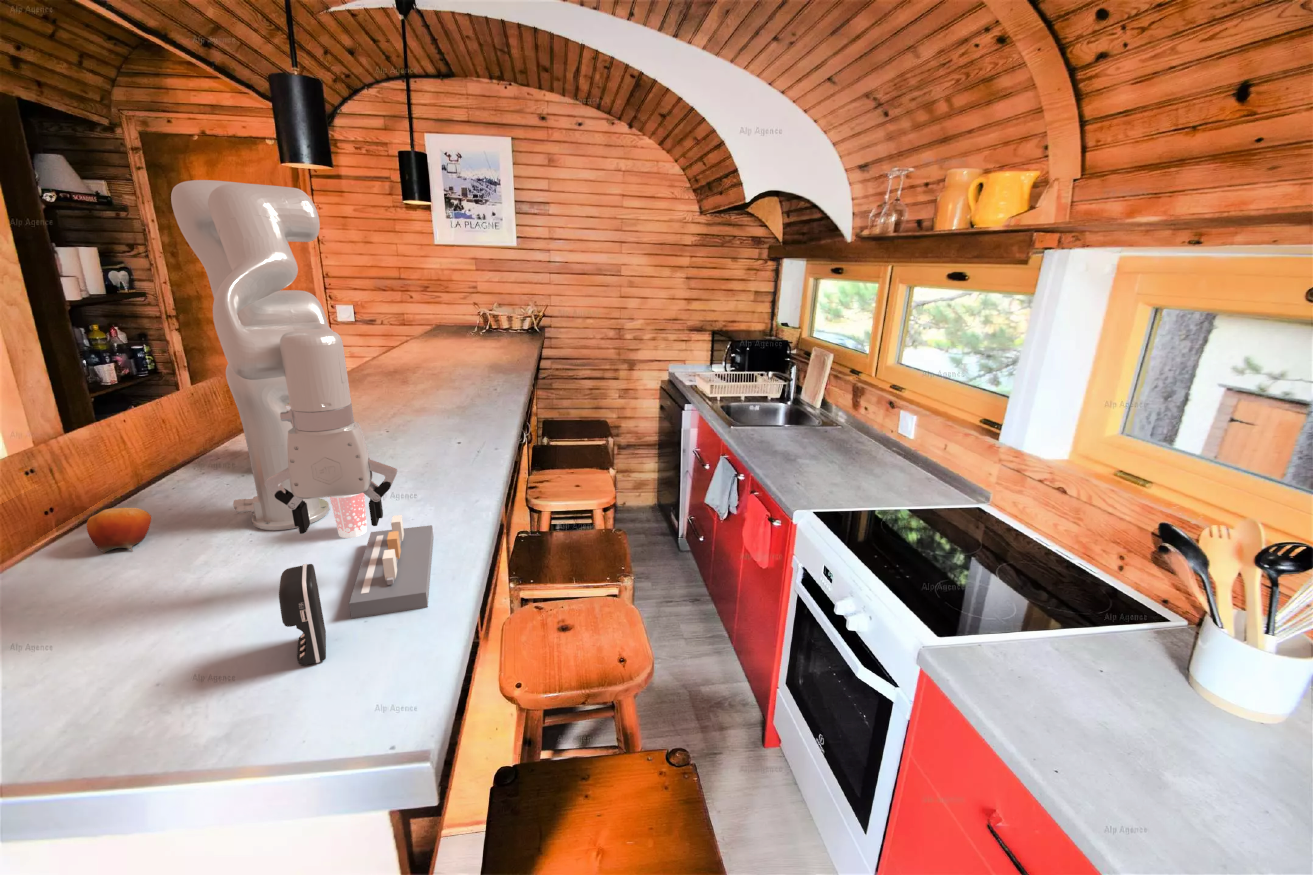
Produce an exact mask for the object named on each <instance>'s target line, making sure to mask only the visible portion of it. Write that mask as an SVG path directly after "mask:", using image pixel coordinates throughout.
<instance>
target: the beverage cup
mask: <svg viewBox="0 0 1313 875" xmlns="http://www.w3.org/2000/svg"><path fill="white" fill-rule="evenodd" d="M329 499H330V502H331V503H330V505H331V508H332V512H333V516H334V521H335V525H336V528H337V532H338V536H339V537H340V538H343V539H353V538H358V537H360V536H363V535H364V534H366V533H367V531H368V527H367V515H366V500H365V499H366V498H365V494H364V493H360V494H355V495H346V496H335V497H329Z"/></svg>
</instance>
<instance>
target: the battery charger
mask: <svg viewBox="0 0 1313 875" xmlns="http://www.w3.org/2000/svg"><path fill="white" fill-rule="evenodd" d="M317 580H318V579H317V575H316V570H315V566H314V564H312V563H304V564H302V565H298V566H293V567H289V568H286V569H285V570H283V571H282V573H281V575H280V580H279V581H280V583H279V589H278V600H279V609H280V615H281V621H282V624H284V626H285V627H287V628H288V627H296V629H298V630H299V631H301V632H302V634H301V635H300V636H299V637H298V639H297V653H296V660H297V663H298V665H300V666H306V665H307V666H308V665H312V664H315V663H316V664H318V663H321V662H323V661H325V660H326V658H327V636H326V635H327V634H326V633H327V631H326V627H325V621H324V615H323V609H322V603H321V597H320V592H319V587H318V581H317Z"/></svg>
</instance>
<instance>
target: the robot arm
mask: <svg viewBox="0 0 1313 875" xmlns="http://www.w3.org/2000/svg"><path fill="white" fill-rule="evenodd" d="M170 195H171V196H170V198H171V199H170V200H171V201H170V202H171V207H172V210H173V214H174V217H175V220H176V223H177V226H178V227H179V230H180V232H181V234H182V235H183V237H184V239H185V241H186V242H187V244H188V245H189V247H190V248H191V250H192V251H193V253H194V254H195V255H196V257H197V258H198V259H199V261H200V262H201V264H202V266H203V267H204V269H205V272H206V275H207V278H208V281H209V282H208V283H209V285H210V288H211V289H210V290H211V292H212V296H213V304H212V318H213V324H214V328H215V332H216V334H217V338H218V341H219V343H220V346H221V348H222V351H223V354H224V357H225V359H226V361H227V365H226V368H225V377H226V382H227V385H228V387H229V390H230V392H231V395H232V397H233V400H234V403H235V406H236V407H237V411H238V413H239V418H240V422H241V425H242V429H243V433H244V439H245V443H246V447H247V452H248V455H249V461H250V467H251V471H252V476H253V481H254V486H255V490H256V495H257V496H253V498H248V499H247V498H241V499H233V504H232V506H233V509H234V510H235V511H236V512H237V514H246V513H252V516H251V523H252V524H253V526H254V527H255V528H258V529H259V530H265V531H284V530H289V529H290V530H291V529H296V528H298V532H299V534H300V535H303V534H305V533H307V531H308V530H309V528H310V526H311V524H312V523H315V522H317V521H319V520H321V519H322V518H324V517H325V516H326V515H327V514H329V511H330V503H329V502H328V501H327V500H325V499H323V498H330V497H335V496H346V495H355V494H360V493H364V496H366V497H367V498H369V501H368V508H369V515H370V516H369V517H370V524H371V526H373V527H377V526H378V524H379V520H380V519H383V517H384V510H383V504H382V503H383V502H382V498H383V496H384V495H385V494H387V492H388V491H389V490H390V489H391V487H392V485H393V483H394V480H395V478H396V476H397V474H398V469H397V468H396V467H394V466H390V465H387V464H385V463H381V462H379V461H375V460H373V459H371V457H370V453H369V450H368V446H367V442H366V439H365V436H364V432H363V429H362V427H361V425H360V423H359V422H358V421H355V419H354V412H353V405H352V399H351V391H350V384H349V376H348V370H347V363H346V356H345V348H344V343H343V339H342V337H341V335H340V334H339V333H338V332H336V331H333V329H332V328H331V327H330V326H329V323H328V320H327V319H328V318H327V316H326V313H325V310H324V307H323V306H322V303H321V302H320V300H319V299H318V298H317V297H316V296H315V295H314V294H313V293H311V292H309V291H305V290H299V289H298V290H297V289H291V290H290V289H289V290H284V289H285V288H287V287H288V286H290V285H291V284H292V283H293V282H294V281H295V280H296V278H297V276H298V272H299V266H298V263H297V260H296V258H295V256H294V254H293V251H292V248H291V247H290V244H289V243H290V242H292V243H293V242H296V243H311V242H314V241H315V240H316V239H317V237H318V236H319V234H320V230H321V229H320V228H321V227H320V226H321V225H320V216H319V213H318V210H317V208H316V205H315V204H314V202H313V200H312V198H310V196H309V195H308V194H307V193H306V192H305V191H303V190H302V189H300V188H297V187H289V186H281V185H270V184H269V185H268V184H258V183H244V182H235V181H227V180H226V181H225V180H209V179H195V180H193V179H192V180H186V181H182V182H180V183H177V184H176V185H175V186H174V187H173V188H172V191H171V194H170ZM289 403H290V406H291V409H290V410H288V409H287V408H286V405H287V404H289ZM373 473H376V474H379V475H382V476H383V477H384V480H383V481H382V482H381V483H380V484H379V485H377V483H376V482H374V481H373Z"/></svg>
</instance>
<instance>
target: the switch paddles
mask: <svg viewBox="0 0 1313 875" xmlns="http://www.w3.org/2000/svg"><path fill="white" fill-rule="evenodd" d="M390 523H391V524H390V525H391V526H390V527H391V530H392V532H389V533H388V538H387V544H388V550H384V554H383V558H382V560H383V567H384V575H385V580H387V585H391V584H393V583H394V579H396V574H397V562H398V559H399V558H400V553H401V548H400V546H401V541H403V537H404V529H403V528H404V522H403V515H402V514H397V515H393V516H392V517H391V522H390Z"/></svg>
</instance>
